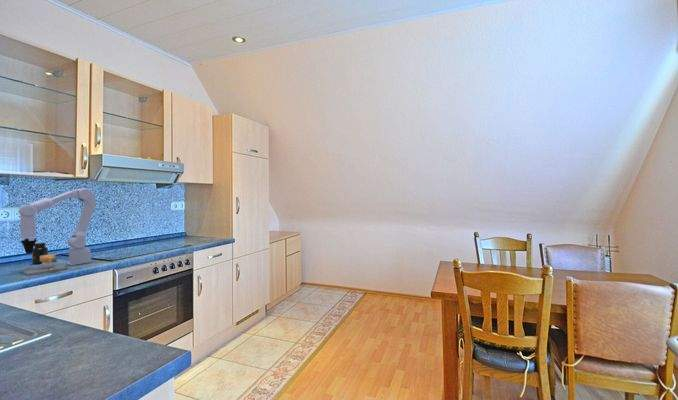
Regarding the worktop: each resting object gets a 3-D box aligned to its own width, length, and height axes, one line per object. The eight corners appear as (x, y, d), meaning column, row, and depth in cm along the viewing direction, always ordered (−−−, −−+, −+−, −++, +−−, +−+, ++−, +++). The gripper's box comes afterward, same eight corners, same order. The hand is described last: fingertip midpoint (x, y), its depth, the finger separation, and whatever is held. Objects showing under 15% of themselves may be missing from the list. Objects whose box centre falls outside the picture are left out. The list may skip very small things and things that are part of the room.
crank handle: (38, 260, 163) (38, 255, 163) (53, 258, 169) (52, 253, 168) (47, 263, 156) (47, 258, 156) (62, 261, 161) (62, 256, 161)
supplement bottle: (29, 265, 177) (28, 244, 177) (37, 262, 183) (36, 242, 183) (43, 264, 179) (42, 243, 178) (51, 261, 185) (50, 241, 185)
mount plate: (59, 266, 173) (59, 257, 173) (67, 269, 165) (66, 260, 165) (21, 272, 161) (21, 262, 161) (27, 276, 153) (27, 266, 152)
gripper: (14, 227, 163) (15, 253, 164) (20, 229, 155) (21, 256, 155) (32, 226, 169) (33, 250, 170) (39, 227, 161) (40, 253, 161)
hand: (28, 253), depth 163 cm, fingers closed
